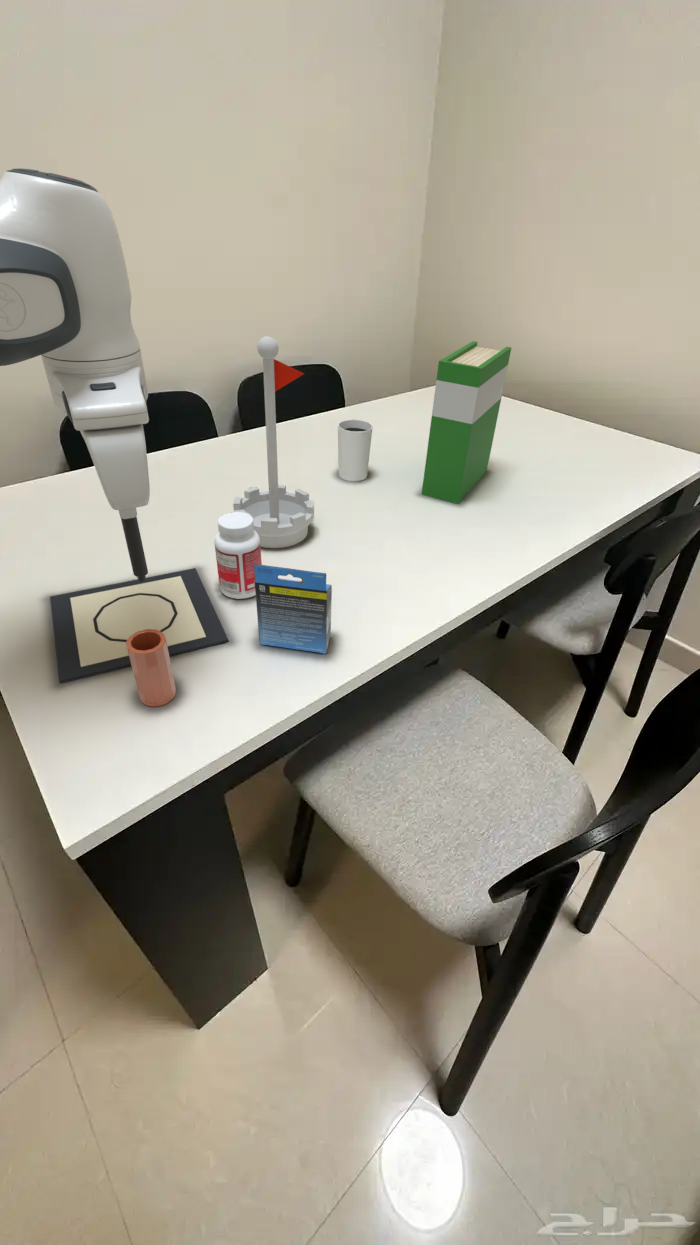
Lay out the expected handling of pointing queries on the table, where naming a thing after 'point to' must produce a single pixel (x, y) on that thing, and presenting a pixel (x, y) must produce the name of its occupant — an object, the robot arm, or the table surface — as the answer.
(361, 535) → the table surface
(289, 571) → the blue retail box
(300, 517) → the flag stand
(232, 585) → the pill bottle
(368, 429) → the white cup
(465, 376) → the hardback book
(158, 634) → the pen cup
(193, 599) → the desk mat
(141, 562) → the marker
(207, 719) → the table surface
